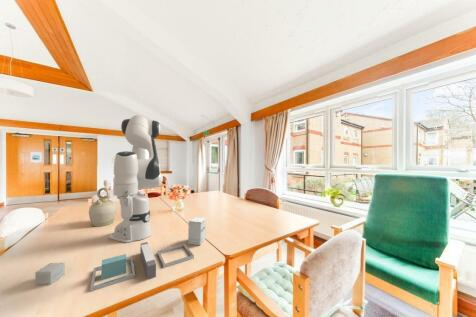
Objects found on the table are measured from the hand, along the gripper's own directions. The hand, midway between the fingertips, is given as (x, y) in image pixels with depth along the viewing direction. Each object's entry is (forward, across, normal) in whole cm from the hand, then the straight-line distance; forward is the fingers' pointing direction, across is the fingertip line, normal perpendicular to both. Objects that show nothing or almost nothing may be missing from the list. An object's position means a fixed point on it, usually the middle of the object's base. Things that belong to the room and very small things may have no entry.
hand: (125, 221), depth 76 cm
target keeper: (+19, -3, +4) cm, 20 cm away
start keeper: (+19, -3, -20) cm, 28 cm away
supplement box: (+20, +5, -34) cm, 40 cm away
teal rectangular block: (+19, -3, +4) cm, 20 cm away
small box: (+20, +6, +24) cm, 31 cm away
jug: (+21, +66, +11) cm, 70 cm away
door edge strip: (+19, -3, -8) cm, 21 cm away
